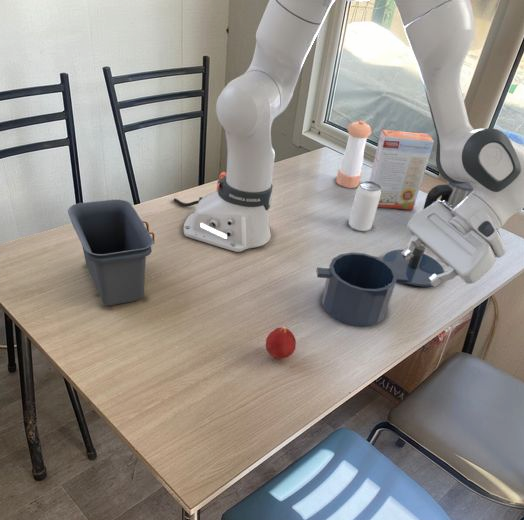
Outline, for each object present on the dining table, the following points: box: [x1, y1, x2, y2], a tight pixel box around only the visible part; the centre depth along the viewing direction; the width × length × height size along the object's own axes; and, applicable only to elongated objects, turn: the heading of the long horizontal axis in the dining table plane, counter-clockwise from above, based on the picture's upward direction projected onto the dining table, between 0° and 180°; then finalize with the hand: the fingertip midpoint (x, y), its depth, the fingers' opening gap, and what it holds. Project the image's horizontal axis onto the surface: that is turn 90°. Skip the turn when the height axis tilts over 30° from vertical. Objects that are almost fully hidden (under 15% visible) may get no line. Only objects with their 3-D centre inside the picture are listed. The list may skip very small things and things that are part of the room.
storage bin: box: [67, 199, 155, 307], centre depth 113 cm, size 21×16×14 cm
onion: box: [265, 326, 297, 360], centre depth 102 cm, size 6×6×8 cm
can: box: [348, 180, 381, 232], centre depth 145 cm, size 6×6×12 cm
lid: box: [382, 244, 445, 287], centre depth 133 cm, size 16×16×7 cm
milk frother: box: [422, 181, 473, 210], centre depth 145 cm, size 14×16×15 cm
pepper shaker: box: [335, 120, 372, 189], centre depth 163 cm, size 7×7×19 cm
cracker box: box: [368, 129, 435, 211], centre depth 154 cm, size 14×6×21 cm, turn 92°
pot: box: [315, 251, 408, 327], centre depth 117 cm, size 14×20×10 cm
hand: (416, 270), depth 107 cm, fingers open, 8 cm apart
